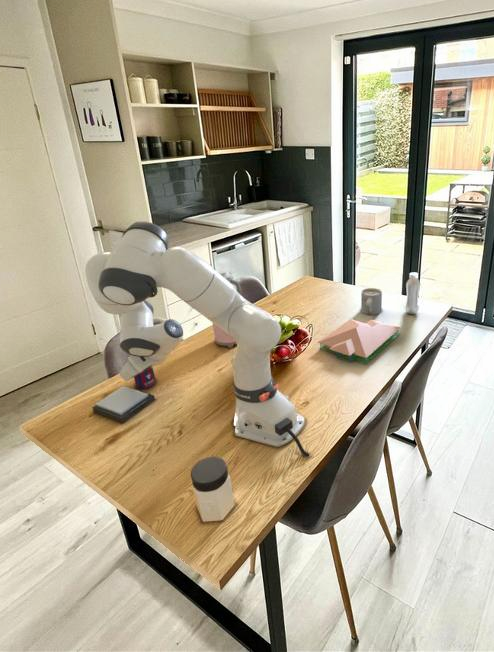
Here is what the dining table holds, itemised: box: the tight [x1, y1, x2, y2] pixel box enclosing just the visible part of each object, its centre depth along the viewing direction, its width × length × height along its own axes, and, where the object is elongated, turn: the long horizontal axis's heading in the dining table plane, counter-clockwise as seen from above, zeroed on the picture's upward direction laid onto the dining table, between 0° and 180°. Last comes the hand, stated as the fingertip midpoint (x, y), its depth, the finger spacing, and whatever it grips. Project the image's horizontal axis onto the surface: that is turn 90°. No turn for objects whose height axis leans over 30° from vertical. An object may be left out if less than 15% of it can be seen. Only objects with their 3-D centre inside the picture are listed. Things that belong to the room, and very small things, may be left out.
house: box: [317, 318, 401, 365], centre depth 166 cm, size 23×33×8 cm
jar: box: [190, 456, 236, 523], centre depth 93 cm, size 9×8×12 cm
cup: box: [133, 367, 157, 390], centre depth 145 cm, size 7×10×7 cm
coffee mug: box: [360, 287, 383, 315], centre depth 195 cm, size 13×10×10 cm
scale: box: [91, 385, 156, 424], centre depth 133 cm, size 14×13×3 cm
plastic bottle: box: [404, 272, 421, 315], centre depth 190 cm, size 6×7×20 cm
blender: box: [212, 269, 242, 349], centre depth 166 cm, size 16×12×32 cm
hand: (140, 370), depth 143 cm, fingers open, 8 cm apart
